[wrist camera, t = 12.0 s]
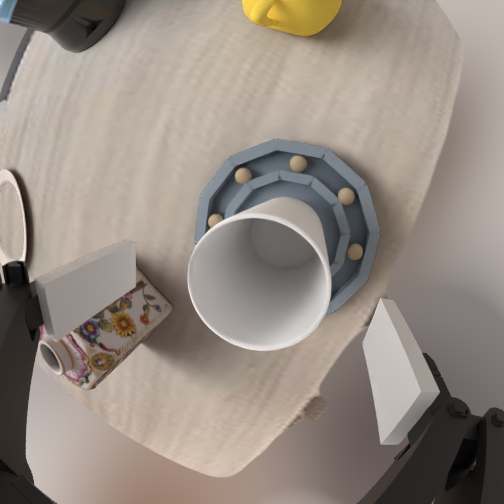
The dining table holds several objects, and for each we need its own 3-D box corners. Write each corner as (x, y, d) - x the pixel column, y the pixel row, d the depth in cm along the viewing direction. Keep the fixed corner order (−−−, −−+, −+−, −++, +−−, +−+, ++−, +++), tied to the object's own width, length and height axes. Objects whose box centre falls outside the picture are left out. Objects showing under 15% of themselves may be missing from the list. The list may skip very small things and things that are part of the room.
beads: (222, 144, 29) (217, 142, 27) (378, 174, 26) (382, 173, 24) (203, 287, 34) (198, 292, 32) (340, 319, 31) (341, 327, 29)
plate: (18, 289, 49) (12, 292, 48) (-12, 213, 47) (-17, 214, 45) (44, 234, 41) (37, 236, 39) (12, 146, 39) (6, 146, 37)
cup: (319, 193, 28) (327, 206, 13) (324, 267, 30) (331, 350, 15) (245, 200, 30) (175, 221, 15) (253, 271, 32) (200, 348, 17)
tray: (217, 134, 30) (209, 131, 27) (388, 166, 26) (394, 165, 24) (197, 290, 35) (189, 297, 33) (346, 325, 32) (348, 336, 30)
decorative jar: (140, 344, 41) (73, 409, 24) (96, 293, 41) (18, 340, 24) (177, 306, 37) (97, 382, 20) (124, 247, 37) (26, 290, 20)
